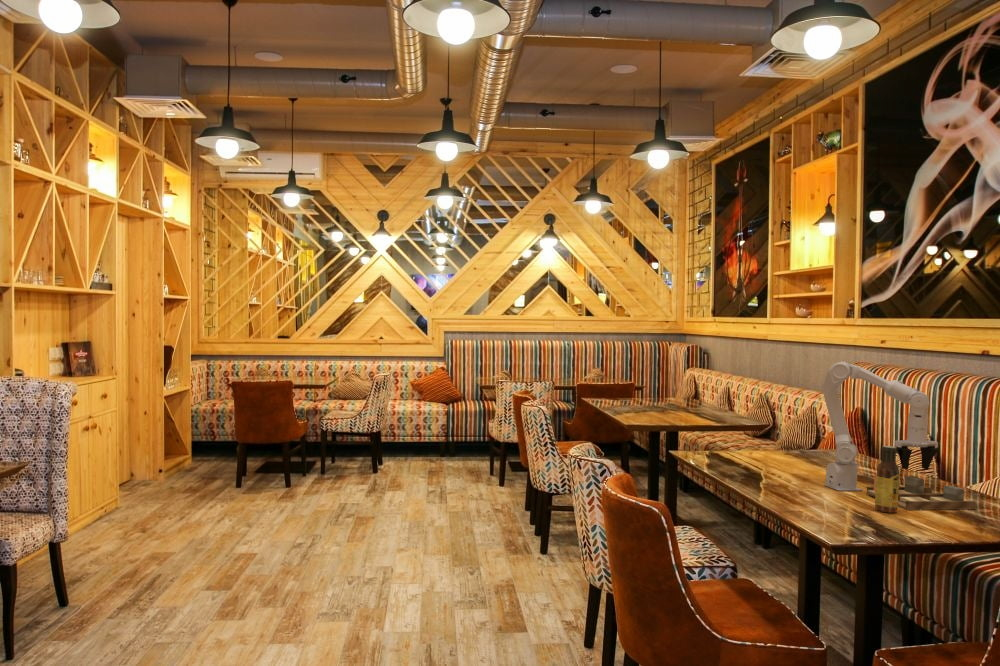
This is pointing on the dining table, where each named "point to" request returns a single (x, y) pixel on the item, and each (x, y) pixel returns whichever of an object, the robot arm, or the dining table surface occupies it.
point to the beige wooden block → (910, 486)
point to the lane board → (934, 499)
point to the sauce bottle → (887, 481)
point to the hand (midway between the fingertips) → (915, 468)
